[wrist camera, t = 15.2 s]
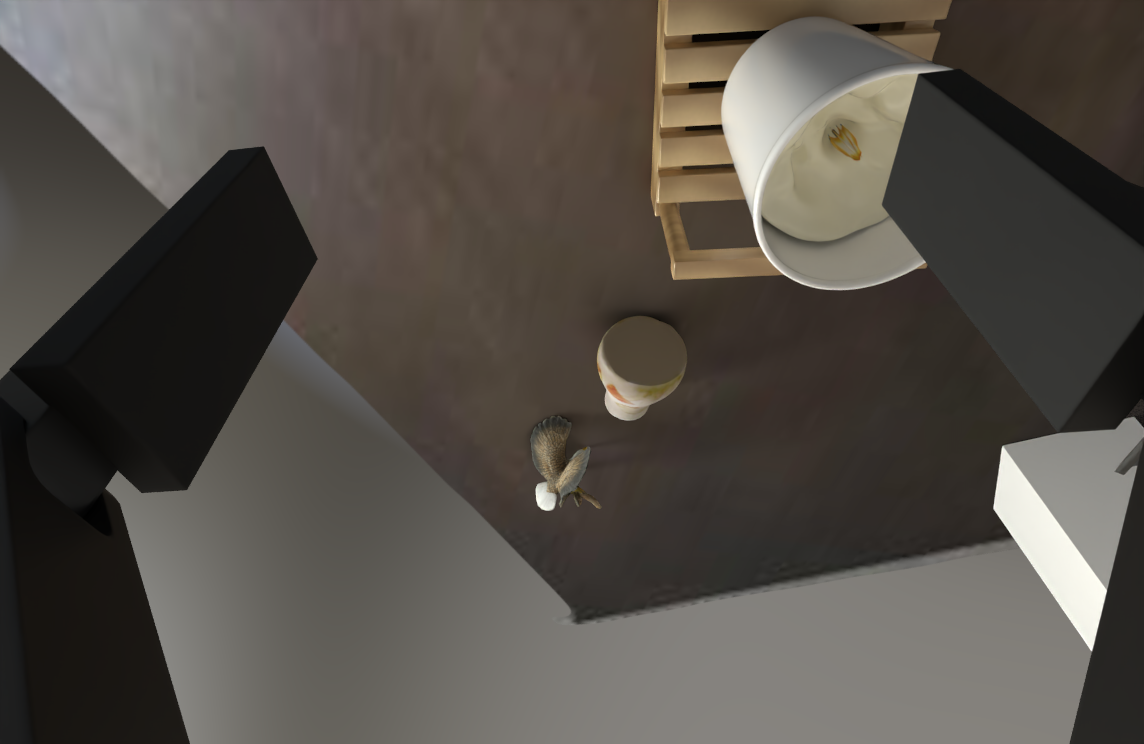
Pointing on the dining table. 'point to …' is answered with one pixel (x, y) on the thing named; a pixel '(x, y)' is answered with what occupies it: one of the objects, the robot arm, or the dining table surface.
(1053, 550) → the milk
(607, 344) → the mug
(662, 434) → the dining table surface
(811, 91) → the candle holder
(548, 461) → the eagle figurine
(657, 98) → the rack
